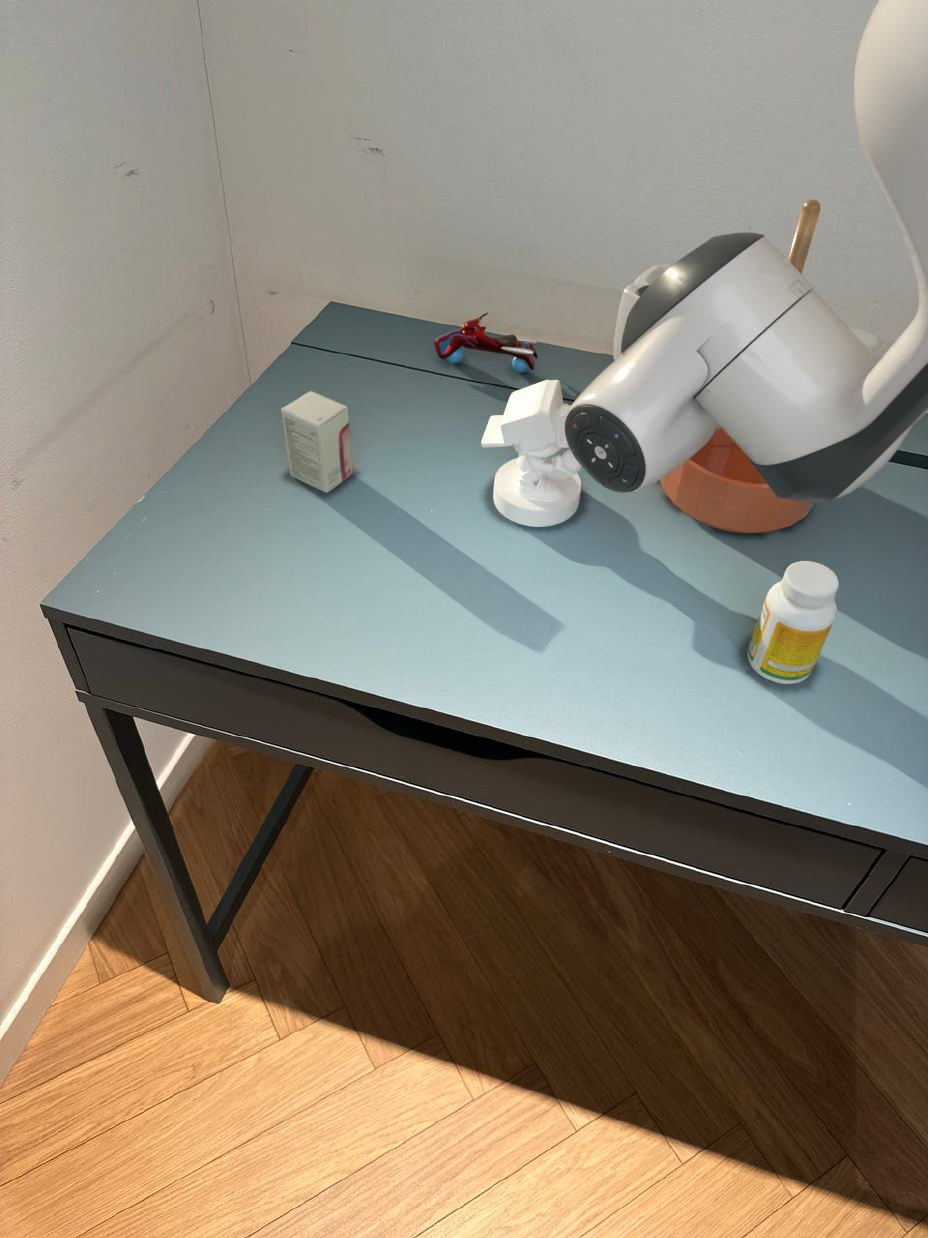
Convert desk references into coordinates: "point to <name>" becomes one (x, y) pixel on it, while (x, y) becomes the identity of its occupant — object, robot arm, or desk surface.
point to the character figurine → (535, 458)
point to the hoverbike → (485, 345)
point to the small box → (318, 441)
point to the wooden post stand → (804, 234)
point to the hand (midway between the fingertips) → (789, 296)
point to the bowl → (729, 491)
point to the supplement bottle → (794, 623)
